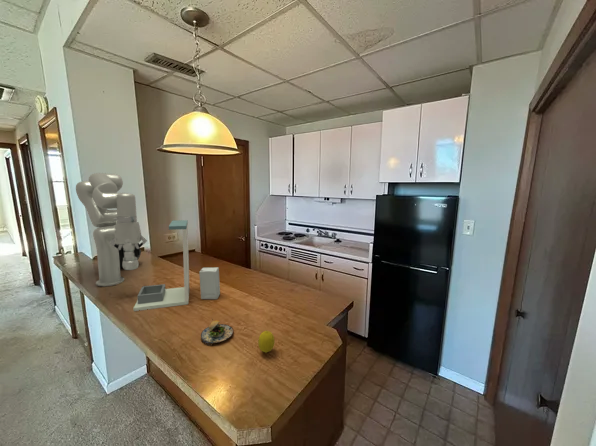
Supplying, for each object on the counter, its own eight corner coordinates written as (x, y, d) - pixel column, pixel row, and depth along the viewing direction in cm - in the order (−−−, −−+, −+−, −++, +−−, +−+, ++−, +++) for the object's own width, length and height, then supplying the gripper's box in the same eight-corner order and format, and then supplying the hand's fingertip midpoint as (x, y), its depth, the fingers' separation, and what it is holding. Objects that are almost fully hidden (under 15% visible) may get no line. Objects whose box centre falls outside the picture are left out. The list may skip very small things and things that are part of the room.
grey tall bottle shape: (131, 272, 117) (128, 230, 115) (119, 270, 119) (116, 229, 116) (142, 268, 124) (140, 228, 121) (130, 266, 125) (128, 227, 122)
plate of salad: (210, 351, 86) (210, 331, 85) (194, 336, 94) (194, 317, 93) (239, 336, 94) (239, 318, 93) (223, 324, 102) (223, 307, 101)
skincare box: (220, 294, 129) (220, 267, 127) (216, 299, 123) (216, 271, 121) (203, 294, 129) (203, 266, 126) (199, 299, 123) (199, 270, 120)
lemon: (258, 347, 88) (258, 326, 87) (274, 347, 89) (274, 326, 88) (257, 358, 83) (257, 335, 82) (274, 357, 83) (274, 335, 82)
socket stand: (141, 294, 126) (137, 220, 120) (189, 289, 134) (187, 220, 128) (133, 311, 109) (128, 227, 104) (188, 304, 117) (186, 225, 112)
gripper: (102, 221, 111) (105, 260, 114) (146, 220, 118) (148, 257, 120) (108, 219, 118) (111, 256, 121) (149, 218, 125) (151, 253, 127)
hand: (130, 256), depth 120 cm, fingers closed on grey tall bottle shape, 5 cm apart
